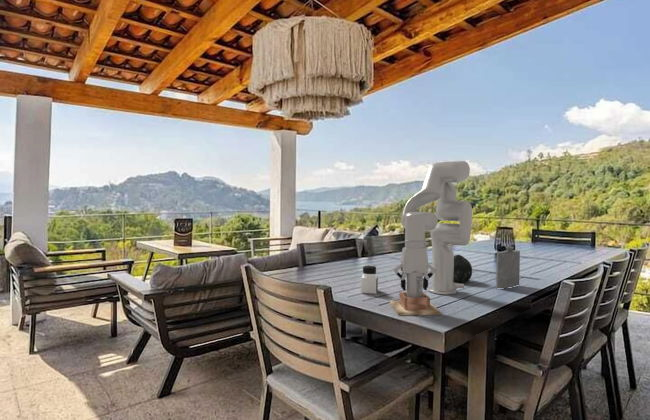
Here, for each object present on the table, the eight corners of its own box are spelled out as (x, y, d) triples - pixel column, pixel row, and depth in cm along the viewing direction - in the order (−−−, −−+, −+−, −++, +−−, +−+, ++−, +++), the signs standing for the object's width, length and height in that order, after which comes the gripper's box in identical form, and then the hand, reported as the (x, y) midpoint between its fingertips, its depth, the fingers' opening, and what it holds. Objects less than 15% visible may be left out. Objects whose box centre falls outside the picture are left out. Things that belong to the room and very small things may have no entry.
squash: (454, 266, 210) (445, 247, 203) (480, 271, 199) (472, 252, 191) (443, 286, 204) (433, 267, 196) (469, 292, 192) (460, 273, 185)
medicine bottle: (376, 294, 171) (376, 267, 171) (360, 293, 173) (360, 267, 172) (377, 290, 178) (377, 264, 178) (362, 289, 180) (362, 264, 179)
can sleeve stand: (428, 303, 157) (428, 289, 156) (440, 315, 141) (441, 300, 140) (389, 303, 156) (390, 289, 156) (397, 315, 140) (398, 300, 140)
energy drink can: (411, 303, 153) (412, 266, 152) (425, 306, 149) (425, 268, 148) (403, 306, 149) (403, 268, 148) (417, 309, 144) (417, 270, 144)
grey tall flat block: (514, 284, 190) (515, 244, 189) (522, 286, 187) (523, 245, 186) (494, 288, 182) (495, 247, 181) (502, 290, 178) (503, 248, 178)
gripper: (434, 243, 152) (433, 287, 152) (390, 243, 151) (390, 287, 152) (440, 245, 144) (439, 291, 145) (394, 245, 144) (394, 292, 144)
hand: (414, 289), depth 148 cm, fingers open, 7 cm apart
